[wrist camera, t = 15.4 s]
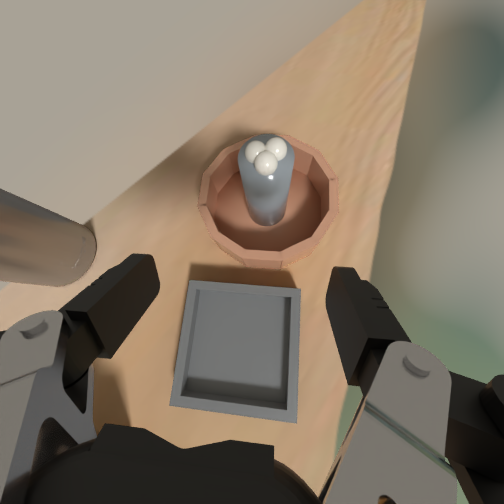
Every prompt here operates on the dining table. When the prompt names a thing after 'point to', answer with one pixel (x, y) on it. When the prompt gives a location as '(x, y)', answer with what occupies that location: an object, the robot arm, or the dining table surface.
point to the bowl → (294, 221)
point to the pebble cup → (266, 177)
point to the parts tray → (239, 351)
